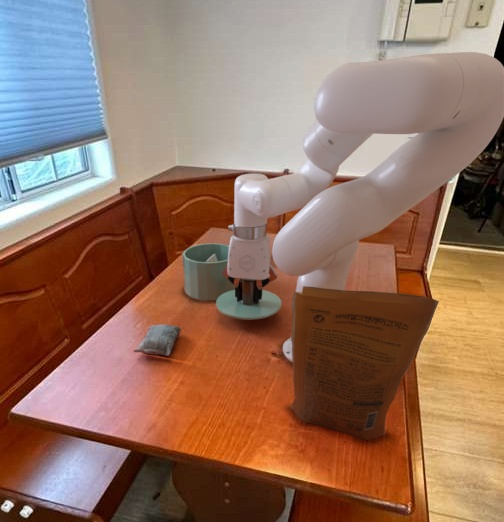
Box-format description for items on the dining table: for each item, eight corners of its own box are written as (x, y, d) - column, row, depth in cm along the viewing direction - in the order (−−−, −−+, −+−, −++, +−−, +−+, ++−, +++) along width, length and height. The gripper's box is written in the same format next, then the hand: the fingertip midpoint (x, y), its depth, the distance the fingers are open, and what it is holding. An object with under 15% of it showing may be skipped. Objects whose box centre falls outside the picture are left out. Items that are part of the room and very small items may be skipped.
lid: (276, 325, 95) (278, 296, 91) (208, 317, 101) (207, 289, 97) (285, 295, 109) (287, 268, 105) (225, 289, 114) (224, 264, 110)
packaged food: (134, 359, 94) (132, 342, 91) (149, 333, 103) (148, 316, 100) (170, 363, 92) (169, 345, 89) (182, 336, 101) (181, 319, 99)
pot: (230, 304, 114) (230, 265, 107) (177, 298, 119) (174, 260, 112) (242, 281, 126) (243, 245, 120) (193, 277, 131) (192, 241, 125)
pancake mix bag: (390, 455, 66) (441, 307, 51) (277, 421, 74) (292, 284, 59) (393, 428, 71) (440, 286, 56) (287, 399, 79) (303, 267, 64)
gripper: (211, 234, 94) (213, 303, 104) (284, 237, 89) (279, 310, 98) (219, 224, 100) (220, 291, 109) (288, 227, 94) (283, 297, 104)
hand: (248, 299), depth 104 cm, fingers closed on lid, 4 cm apart
